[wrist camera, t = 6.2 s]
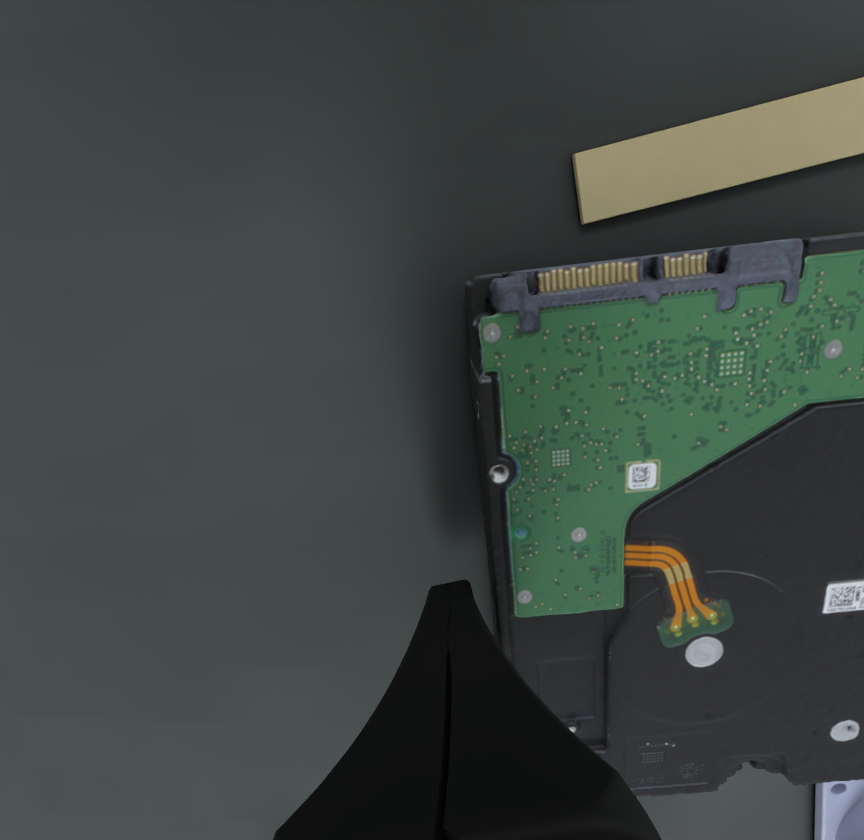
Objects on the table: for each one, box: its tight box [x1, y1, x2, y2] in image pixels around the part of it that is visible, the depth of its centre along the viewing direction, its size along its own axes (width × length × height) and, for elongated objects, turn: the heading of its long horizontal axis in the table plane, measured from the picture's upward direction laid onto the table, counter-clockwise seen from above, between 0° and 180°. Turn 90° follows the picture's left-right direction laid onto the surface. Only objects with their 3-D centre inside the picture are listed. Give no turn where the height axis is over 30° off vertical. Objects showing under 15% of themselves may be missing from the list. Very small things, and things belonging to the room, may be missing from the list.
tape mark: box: [572, 77, 864, 225], centre depth 11 cm, size 7×10×1 cm
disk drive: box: [465, 231, 864, 796], centre depth 12 cm, size 10×3×15 cm
